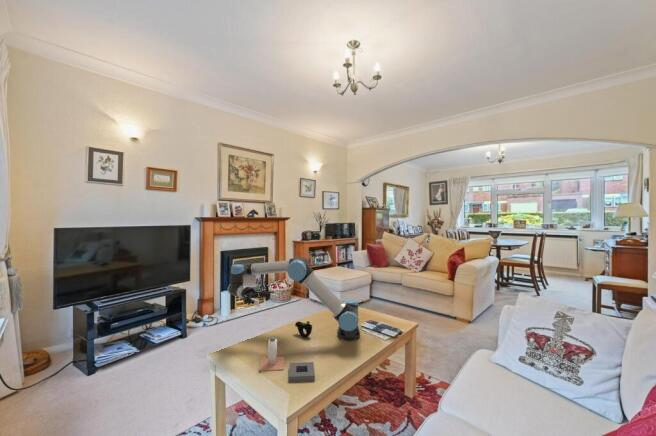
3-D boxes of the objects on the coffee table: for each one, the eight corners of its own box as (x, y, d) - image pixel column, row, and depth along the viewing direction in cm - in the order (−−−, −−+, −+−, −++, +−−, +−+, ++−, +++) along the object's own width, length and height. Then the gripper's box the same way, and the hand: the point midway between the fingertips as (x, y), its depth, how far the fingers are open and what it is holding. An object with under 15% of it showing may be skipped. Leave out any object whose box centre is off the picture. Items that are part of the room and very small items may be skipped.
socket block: (313, 367, 141) (313, 362, 141) (314, 382, 129) (314, 375, 129) (289, 368, 140) (289, 362, 140) (288, 383, 128) (289, 376, 128)
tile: (284, 358, 150) (284, 356, 150) (283, 371, 138) (283, 369, 138) (262, 359, 148) (262, 357, 148) (258, 372, 136) (259, 370, 136)
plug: (276, 360, 145) (277, 335, 145) (276, 365, 141) (276, 339, 141) (268, 360, 145) (268, 335, 144) (267, 365, 140) (268, 339, 140)
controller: (309, 339, 173) (309, 323, 172) (293, 334, 179) (294, 319, 179) (313, 337, 176) (313, 321, 176) (298, 332, 183) (298, 317, 183)
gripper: (262, 294, 177) (285, 301, 164) (227, 304, 157) (249, 313, 144) (262, 283, 177) (285, 289, 163) (227, 290, 157) (249, 298, 144)
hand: (268, 300), depth 154 cm, fingers open, 13 cm apart
